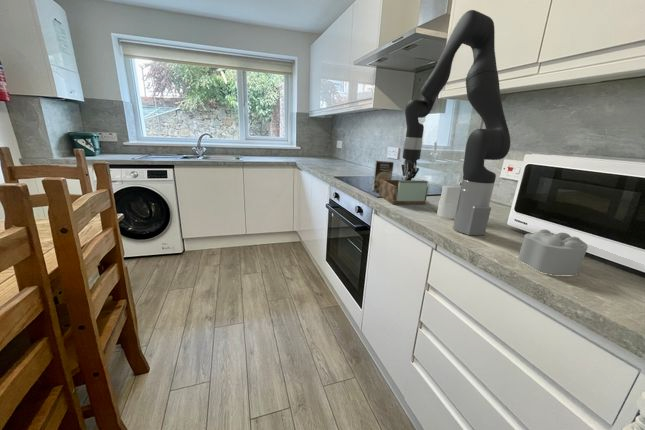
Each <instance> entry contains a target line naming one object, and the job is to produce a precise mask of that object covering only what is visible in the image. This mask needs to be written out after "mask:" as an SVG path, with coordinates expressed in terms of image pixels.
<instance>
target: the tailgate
mask: <svg viewBox="0 0 645 430" xmlns="http://www.w3.org/2000/svg"><path fill="white" fill-rule="evenodd" d="M398 180H399V184H398V192H397V201H425V195H426V189H427V187H428V182H429V181H427V180H411V181H406V180H405V179H398Z"/></svg>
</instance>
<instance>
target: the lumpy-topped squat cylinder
mask: <svg viewBox="0 0 645 430" xmlns="http://www.w3.org/2000/svg"><path fill="white" fill-rule="evenodd" d="M587 249H588V244H587V243H586V242H584V241H583V240H582V239H580V238H579V236H578V237H577V236H571V235H570V233H569V234H568V233H566V232H558V233H556V234H555V233H554V232H551V231H550V230H548V229H544V228H543V229H540V230H538V231H537V232H535V233H526V234H524V236H523V241H522V244H521V247H520V251H519V254H518V258H517V260H518V259H519V260H520V261H522V262H524V263H526V264H528V265H530V266H531V267H533V268H534V269H536V270H538V271H540V272H543V273H547V274H552V275H576V274H577V275H578V274H579V273H580V269H581V267H582V265H583V261H584V260H585V259H584V258H585V256H586V252H587V251H588V250H587ZM578 272H579V273H578ZM577 275H576V276H577Z"/></svg>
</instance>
